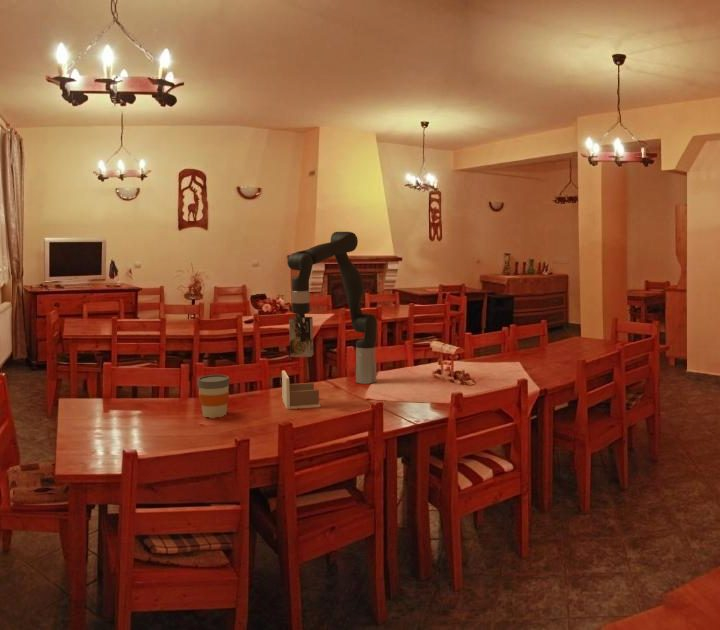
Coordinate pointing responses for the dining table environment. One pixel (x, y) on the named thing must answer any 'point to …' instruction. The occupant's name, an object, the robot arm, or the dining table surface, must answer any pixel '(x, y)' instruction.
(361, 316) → the robot arm
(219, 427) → the dining table surface
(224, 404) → the reusable coffee cup
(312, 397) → the book rack
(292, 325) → the coffee box
